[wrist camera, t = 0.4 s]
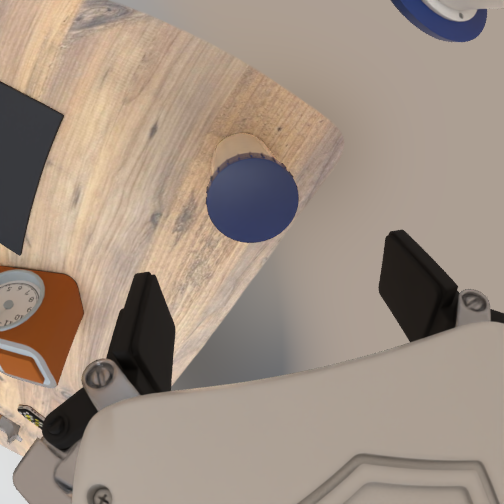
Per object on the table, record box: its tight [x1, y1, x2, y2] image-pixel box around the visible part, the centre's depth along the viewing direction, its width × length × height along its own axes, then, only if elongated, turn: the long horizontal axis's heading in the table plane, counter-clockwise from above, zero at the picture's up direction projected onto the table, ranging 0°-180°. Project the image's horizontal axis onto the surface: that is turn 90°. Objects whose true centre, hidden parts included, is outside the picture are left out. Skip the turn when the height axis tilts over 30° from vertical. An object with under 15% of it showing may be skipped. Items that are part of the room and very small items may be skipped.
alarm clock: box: [0, 266, 84, 388], centre depth 29 cm, size 15×8×14 cm, turn 81°
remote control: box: [18, 406, 45, 429], centre depth 55 cm, size 6×13×2 cm, turn 18°
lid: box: [206, 152, 298, 243], centre depth 21 cm, size 6×6×2 cm
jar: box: [210, 133, 278, 177], centre depth 25 cm, size 6×6×10 cm
